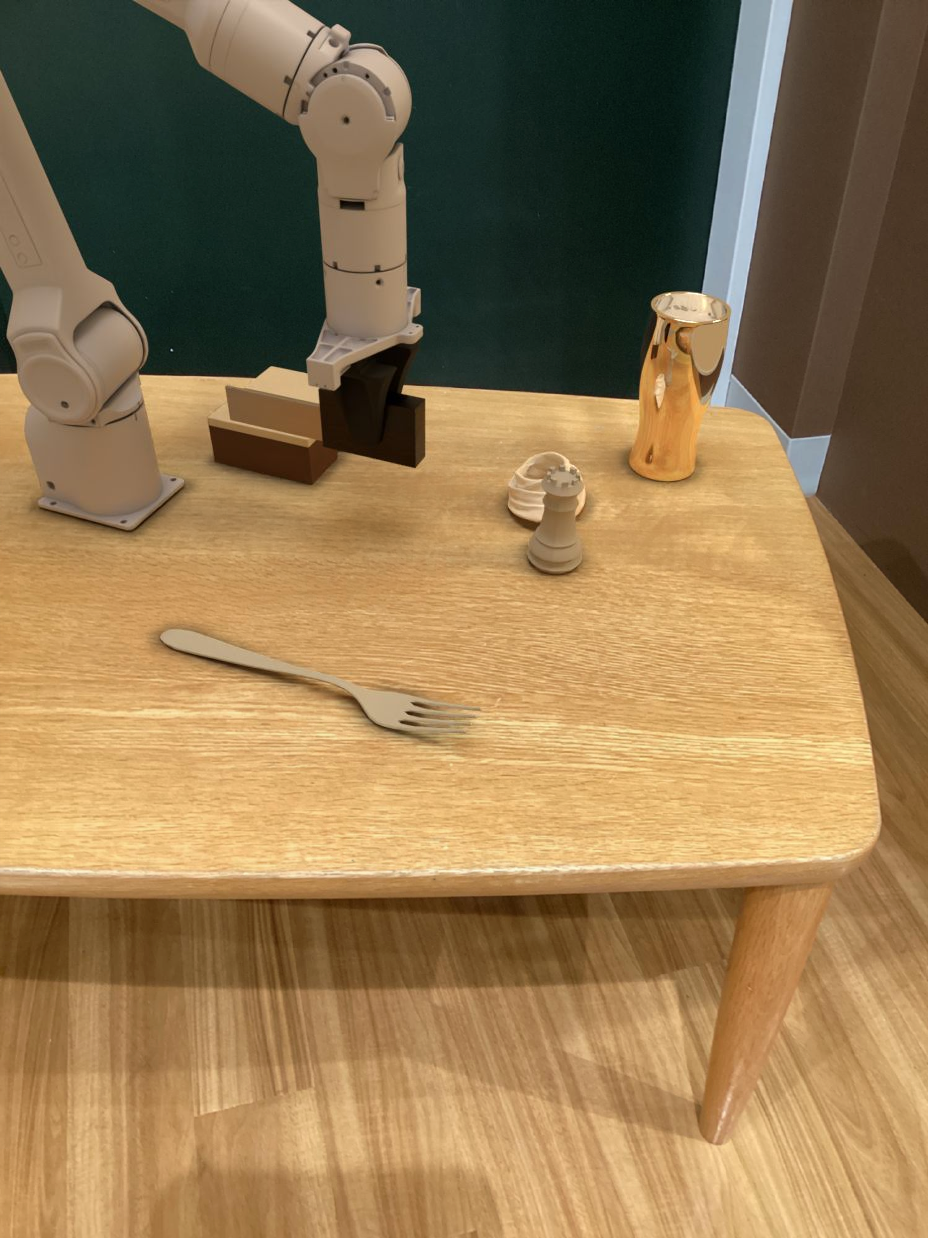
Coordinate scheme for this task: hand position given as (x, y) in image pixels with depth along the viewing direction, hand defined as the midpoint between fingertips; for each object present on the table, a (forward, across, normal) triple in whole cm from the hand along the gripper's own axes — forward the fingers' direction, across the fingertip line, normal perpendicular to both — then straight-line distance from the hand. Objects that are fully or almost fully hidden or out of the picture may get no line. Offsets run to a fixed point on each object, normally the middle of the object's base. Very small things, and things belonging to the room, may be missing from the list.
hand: (372, 435), depth 72 cm
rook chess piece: (+9, +1, -15) cm, 17 cm away
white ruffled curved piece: (+9, +8, -12) cm, 17 cm away
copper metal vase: (+8, +19, -20) cm, 29 cm away
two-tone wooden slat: (+1, 0, +5) cm, 5 cm away
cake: (+8, +6, +13) cm, 16 cm away
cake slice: (+8, +12, +13) cm, 20 cm away
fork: (+9, -19, -4) cm, 21 cm away
